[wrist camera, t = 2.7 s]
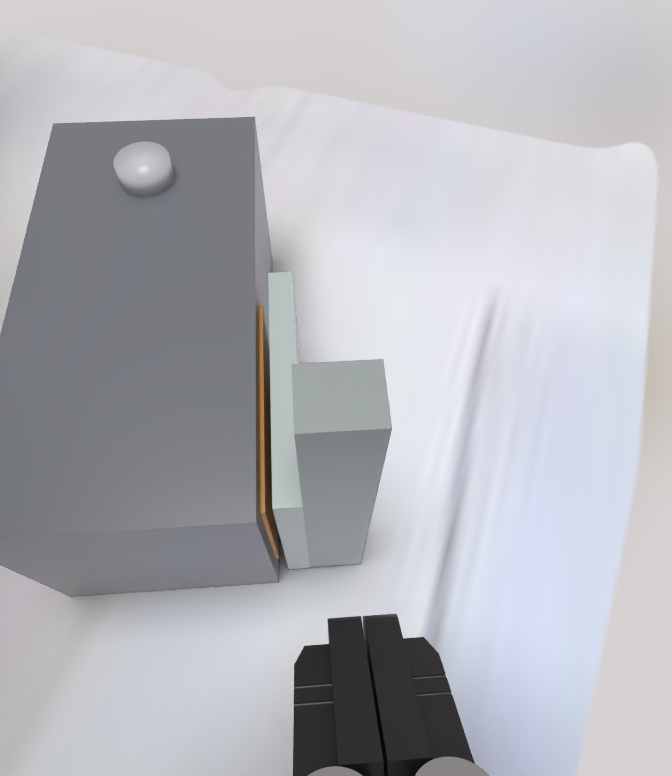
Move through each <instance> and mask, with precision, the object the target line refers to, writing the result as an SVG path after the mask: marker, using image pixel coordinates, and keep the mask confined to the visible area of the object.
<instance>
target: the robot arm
mask: <svg viewBox="0 0 672 776" xmlns="http://www.w3.org/2000/svg"><path fill="white" fill-rule="evenodd" d="M328 636H329V644H324V645H311V646H304V648H303V650H302V652H301V654H300V655H299V657H298V659H297V661H296V663H295V665H294V746H293V776H489V775H488V774H487V773H486V772H485V771H484V770H483V769H481V768H480V767H479V766H477V765H476V764H475V763H474V760H473V758H472V755H471V752H470V748H469V745H468V742H467V739H466V736H465V733H464V730H463V727H462V724H461V721H460V718H459V714H458V711H457V708H456V705H455V702H454V699H453V696H452V695H451V690H450V687H449V684H448V681H447V678H446V676H445V671H444V668H443V665H442V662H441V659H440V656H439V653H438V652H437V651H436V650H435V649H434V648H433V647H432V646H431V645H430V644H429V643H428V641H427V640H426V639H425V638H424V637H419V638H405V639H403V637H402V633H401V629H400V625H399V621H398V617H397V614H386V615H372V616H363V627H362V621H361V616H357V617H343V618H330V619H328Z"/></svg>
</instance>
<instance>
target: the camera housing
mask: <svg viewBox="0 0 672 776" xmlns="http://www.w3.org/2000/svg"><path fill="white" fill-rule="evenodd" d="M268 273H272V255H271V247H270V238H269V230H268V222H267V214H266V205H265V197H264V189H263V181H262V172H261V164H260V156H259V148H258V139H257V131H256V123H255V117H239V118H209V119H178V120H148V121H117V122H87V123H56V124H53V127H52V131H51V135H50V139H49V143H48V147H47V151H46V155H45V159H44V163H43V167H42V171H41V175H40V179H39V183H38V187H37V191H36V195H35V199H34V203H33V207H32V211H31V215H30V219H29V223H28V227H27V231H26V235H25V239H24V243H23V247H22V251H21V255H20V259H19V263H18V267H17V271H16V275H15V279H14V283H13V287H12V291H11V295H10V299H9V303H8V307H7V311H6V315H5V319H4V323H3V327H2V331H1V335H0V565H1V566H4V567H6V568H8V569H10V570H13V571H15V572H17V573H19V574H21V575H24V576H26V577H28V578H30V579H33V580H35V581H37V582H39V583H42V584H44V585H46V586H48V587H51V588H53V589H55V590H57V591H59V592H62V593H64V594H66V595H68V596H71V597H73V596H87V595H102V594H116V593H131V592H145V591H160V590H174V589H189V588H203V587H218V586H232V585H247V584H261V583H276V582H279V573H278V559H279V532H278V528H277V524H276V520H275V517H274V513H273V509H272V459H271V401H270V343H269V286H268Z"/></svg>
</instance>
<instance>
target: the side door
mask: <svg viewBox="0 0 672 776" xmlns="http://www.w3.org/2000/svg"><path fill="white" fill-rule="evenodd" d="M268 286H269V343H270V401H271V459H272V509H273V513H274V517H275V520H276V524H277V528H278V532H279V535H280V539H281V543H282V546H283V550H284V554H285V558H286V561H287V565H288V569H301V568H310V567H317V566H331V565H346V564H361V560H362V556H363V552H364V547H365V543H366V539H367V534H368V530H369V526H370V521H371V517H372V513H373V508H374V504H375V500H376V495H377V491H378V487H379V482H380V478H381V474H382V469H383V465H384V461H385V456H386V452H387V448H388V443H389V439H390V435H391V430H392V425H391V417H390V409H389V402H388V394H387V386H386V378H385V370H384V362H383V359H377V360H358V361H338V362H319V363H300V361H299V348H298V335H297V322H296V309H295V297H294V284H293V272H274V273H268Z"/></svg>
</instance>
